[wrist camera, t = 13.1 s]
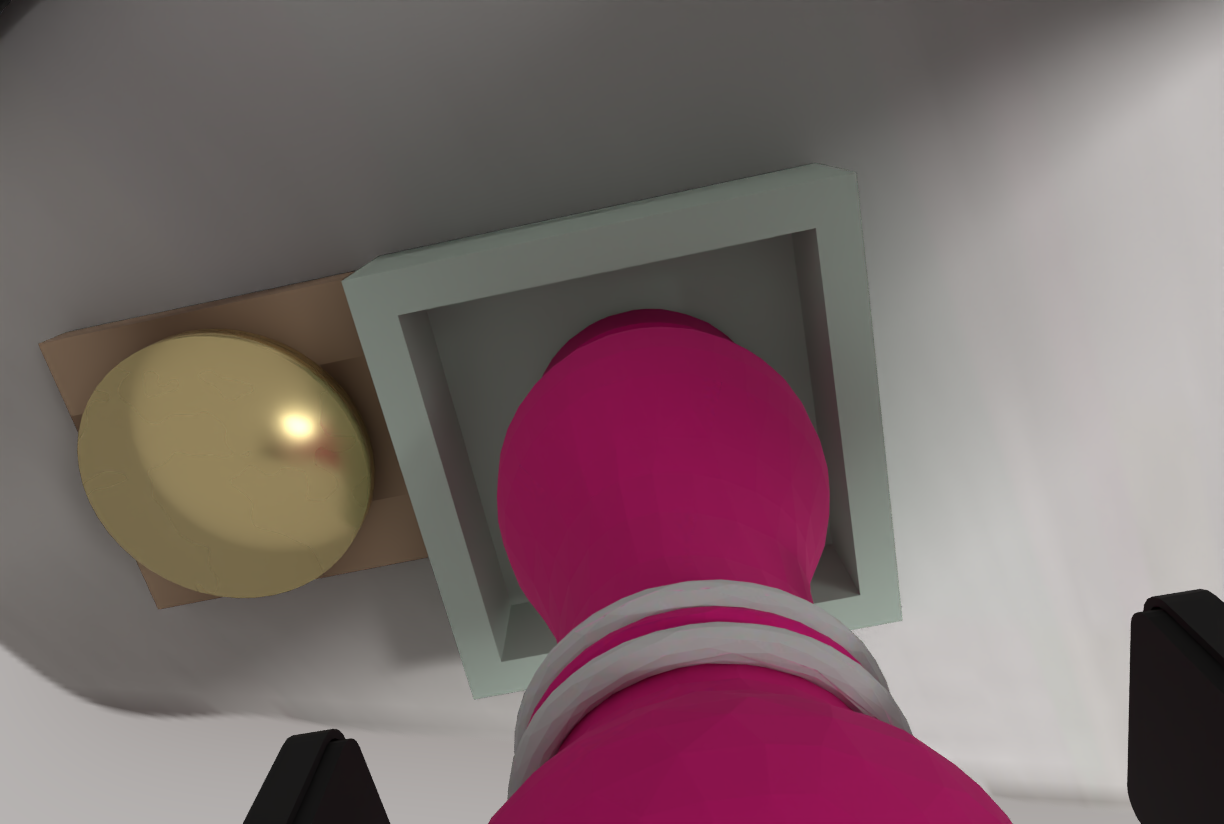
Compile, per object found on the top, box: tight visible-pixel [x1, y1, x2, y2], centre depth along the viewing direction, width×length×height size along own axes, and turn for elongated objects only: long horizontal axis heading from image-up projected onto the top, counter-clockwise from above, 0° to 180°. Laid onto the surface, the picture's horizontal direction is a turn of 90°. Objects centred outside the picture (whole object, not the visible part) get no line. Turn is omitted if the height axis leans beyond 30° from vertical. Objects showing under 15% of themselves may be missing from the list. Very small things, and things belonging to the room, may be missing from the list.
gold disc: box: [77, 329, 375, 598], centre depth 22 cm, size 7×7×2 cm
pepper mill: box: [488, 309, 1012, 824], centre depth 13 cm, size 7×7×20 cm
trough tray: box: [341, 163, 902, 700], centre depth 22 cm, size 12×12×4 cm
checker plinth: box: [38, 271, 429, 609], centre depth 23 cm, size 8×8×1 cm
